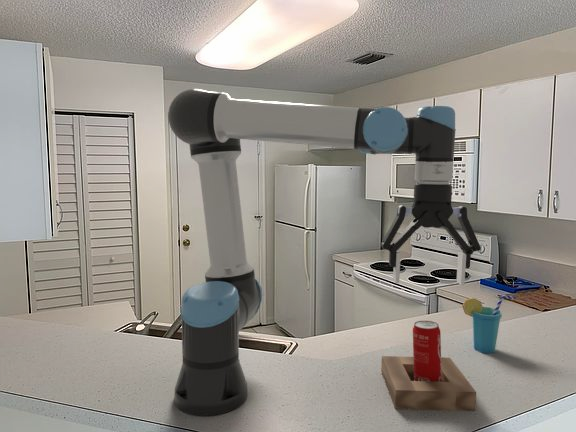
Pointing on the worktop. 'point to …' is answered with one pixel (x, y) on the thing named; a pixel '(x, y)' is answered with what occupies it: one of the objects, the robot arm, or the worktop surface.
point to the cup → (484, 323)
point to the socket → (427, 386)
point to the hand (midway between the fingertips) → (428, 282)
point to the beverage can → (427, 351)
